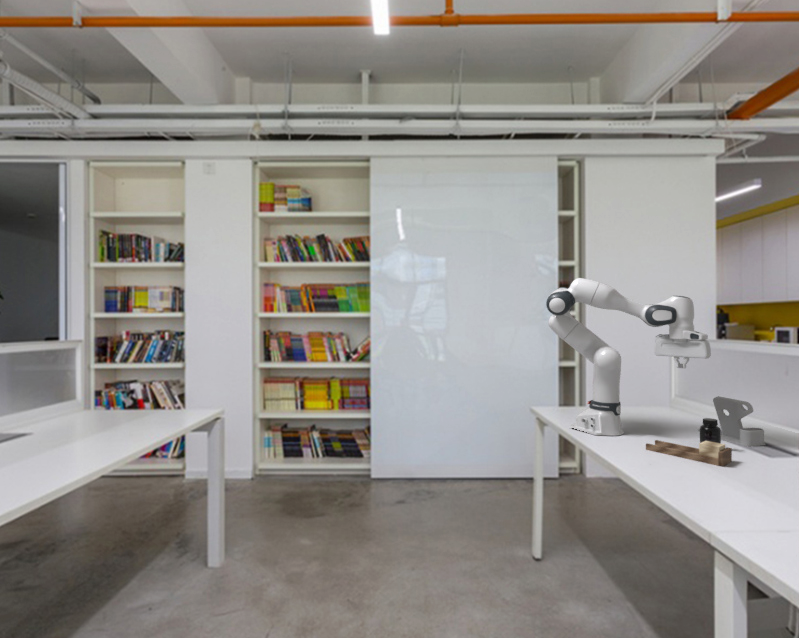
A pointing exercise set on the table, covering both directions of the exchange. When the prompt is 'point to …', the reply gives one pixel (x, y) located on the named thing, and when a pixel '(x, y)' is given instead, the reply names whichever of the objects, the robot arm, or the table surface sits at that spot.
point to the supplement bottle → (710, 431)
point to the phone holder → (737, 422)
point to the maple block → (710, 448)
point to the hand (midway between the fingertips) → (681, 368)
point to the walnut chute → (690, 453)
